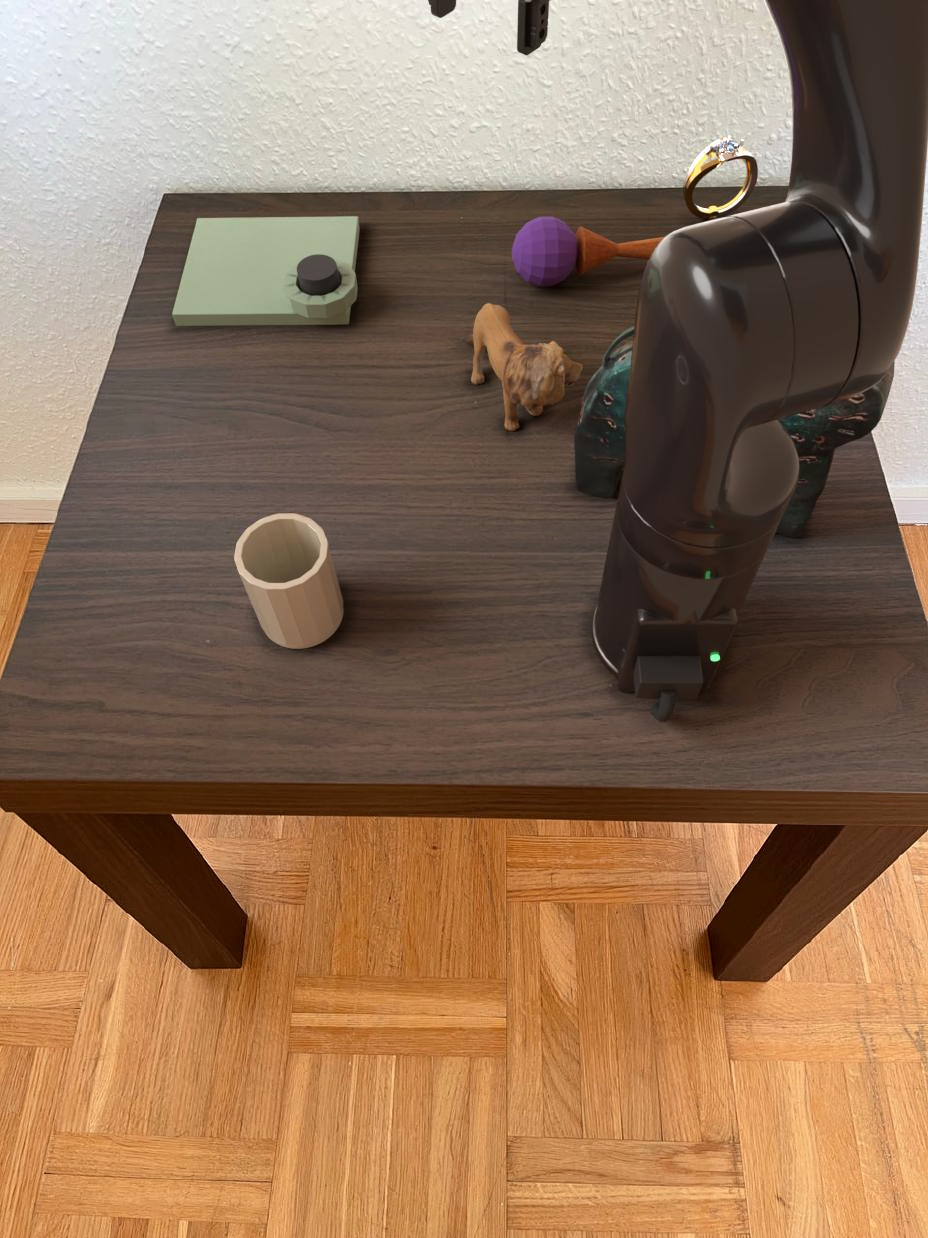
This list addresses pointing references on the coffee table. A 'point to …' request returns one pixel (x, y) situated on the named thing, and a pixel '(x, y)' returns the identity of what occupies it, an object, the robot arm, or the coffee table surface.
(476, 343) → the lion figurine
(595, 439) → the ceramic cat
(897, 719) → the coffee table surface
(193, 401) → the coffee table surface
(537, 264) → the kendama
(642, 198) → the coffee table surface
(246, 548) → the cup
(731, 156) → the ring
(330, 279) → the button
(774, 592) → the coffee table surface
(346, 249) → the scale
